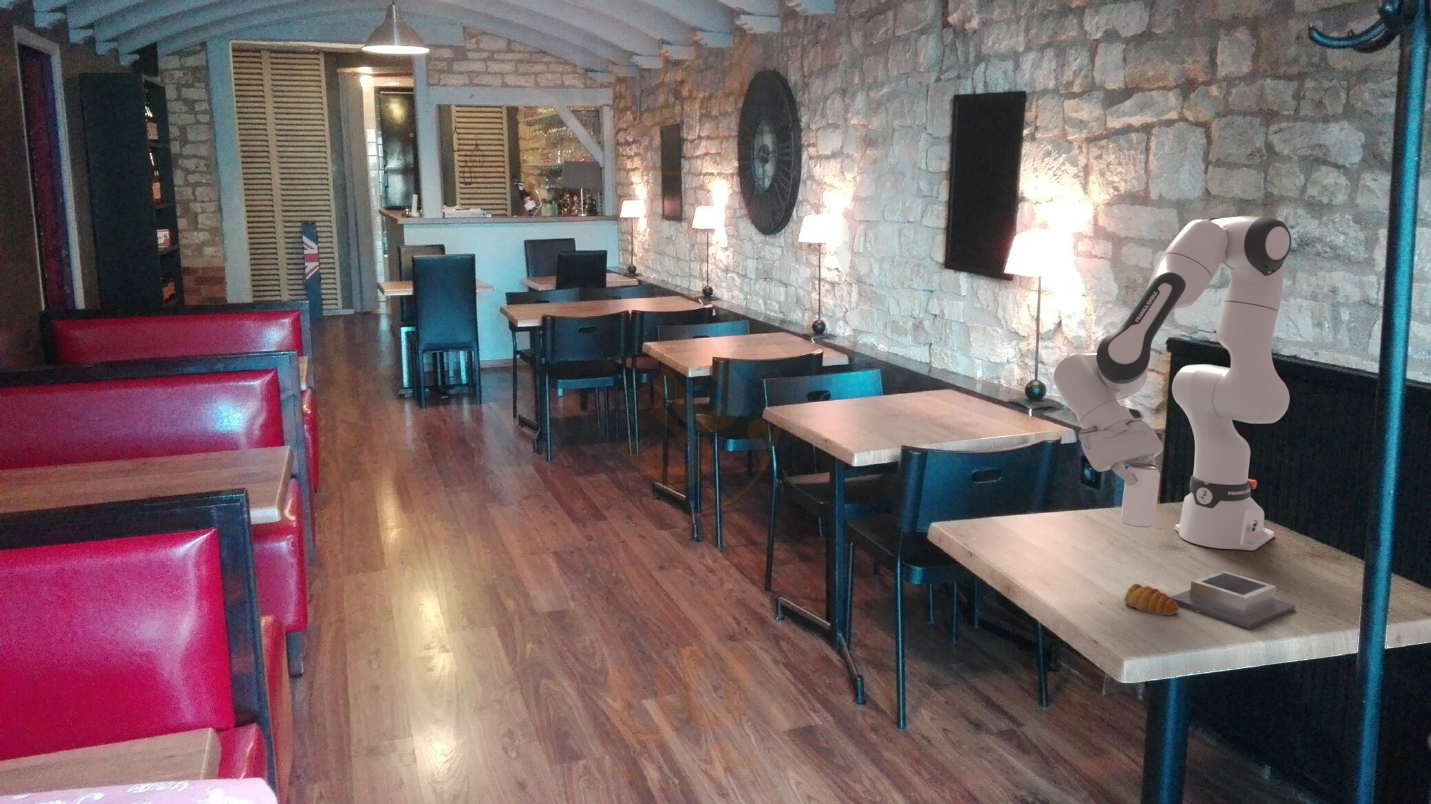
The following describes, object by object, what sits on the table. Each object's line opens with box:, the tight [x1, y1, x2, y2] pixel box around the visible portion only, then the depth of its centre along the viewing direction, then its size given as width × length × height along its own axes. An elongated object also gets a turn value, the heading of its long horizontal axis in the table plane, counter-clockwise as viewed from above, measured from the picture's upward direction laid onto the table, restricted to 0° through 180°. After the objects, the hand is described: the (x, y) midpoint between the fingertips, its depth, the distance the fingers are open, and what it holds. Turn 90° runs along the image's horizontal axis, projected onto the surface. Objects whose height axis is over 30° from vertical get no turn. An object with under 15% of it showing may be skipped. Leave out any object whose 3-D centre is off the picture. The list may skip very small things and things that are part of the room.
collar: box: [1170, 569, 1296, 630], centre depth 212 cm, size 16×16×4 cm
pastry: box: [1124, 583, 1180, 617], centre depth 211 cm, size 9×7×4 cm
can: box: [1120, 462, 1161, 528], centre depth 226 cm, size 6×6×12 cm
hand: (1145, 480), depth 225 cm, fingers closed on can, 6 cm apart
